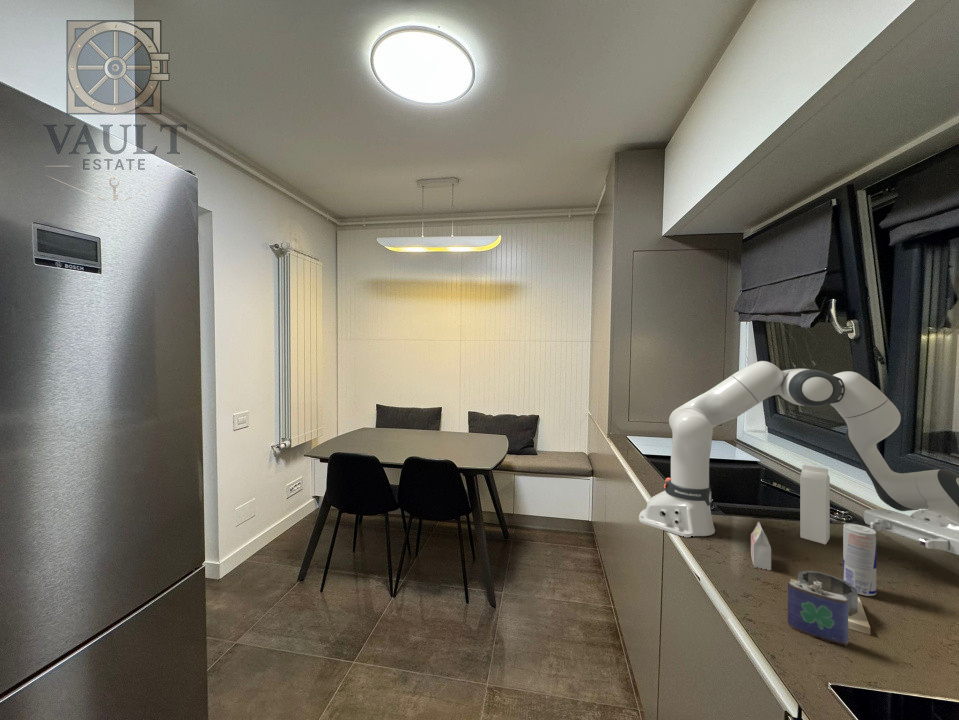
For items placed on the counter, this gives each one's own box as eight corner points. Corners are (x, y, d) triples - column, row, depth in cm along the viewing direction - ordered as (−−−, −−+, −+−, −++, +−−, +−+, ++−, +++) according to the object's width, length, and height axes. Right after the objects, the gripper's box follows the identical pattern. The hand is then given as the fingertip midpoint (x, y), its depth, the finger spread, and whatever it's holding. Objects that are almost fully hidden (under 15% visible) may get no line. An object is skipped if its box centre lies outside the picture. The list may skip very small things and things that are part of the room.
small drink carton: (767, 558, 105) (767, 522, 105) (771, 570, 99) (770, 532, 99) (750, 555, 107) (750, 520, 107) (753, 566, 101) (753, 529, 101)
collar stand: (792, 611, 83) (792, 586, 83) (790, 584, 93) (790, 562, 93) (870, 635, 76) (870, 608, 76) (859, 603, 85) (859, 579, 85)
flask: (847, 640, 75) (847, 586, 74) (849, 650, 72) (849, 594, 72) (787, 620, 80) (787, 570, 80) (787, 628, 78) (787, 577, 78)
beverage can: (883, 599, 87) (883, 534, 87) (854, 596, 88) (854, 532, 88) (864, 584, 93) (864, 523, 92) (837, 582, 94) (837, 522, 94)
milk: (826, 545, 112) (826, 471, 112) (799, 537, 117) (800, 466, 116) (829, 538, 116) (830, 467, 116) (804, 531, 121) (804, 462, 120)
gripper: (884, 500, 106) (847, 506, 103) (998, 533, 86) (957, 541, 83) (884, 523, 106) (847, 529, 103) (998, 560, 86) (957, 569, 83)
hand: (897, 535), depth 93 cm, fingers open, 8 cm apart
